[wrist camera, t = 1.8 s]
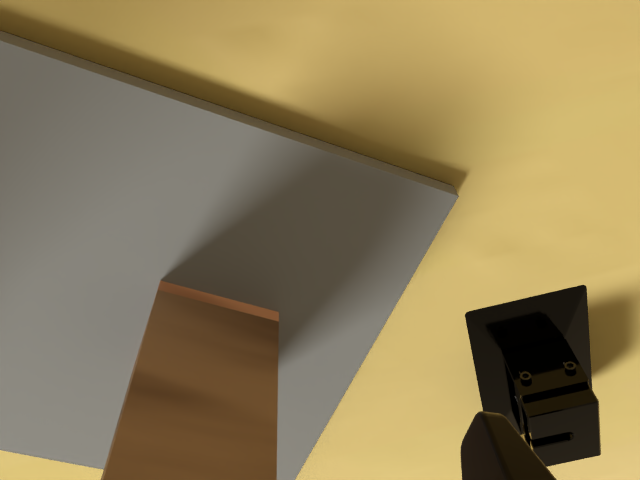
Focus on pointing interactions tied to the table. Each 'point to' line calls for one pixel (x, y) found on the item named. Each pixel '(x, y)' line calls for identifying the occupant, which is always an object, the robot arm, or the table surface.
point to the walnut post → (200, 393)
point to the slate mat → (181, 246)
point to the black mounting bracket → (539, 372)
